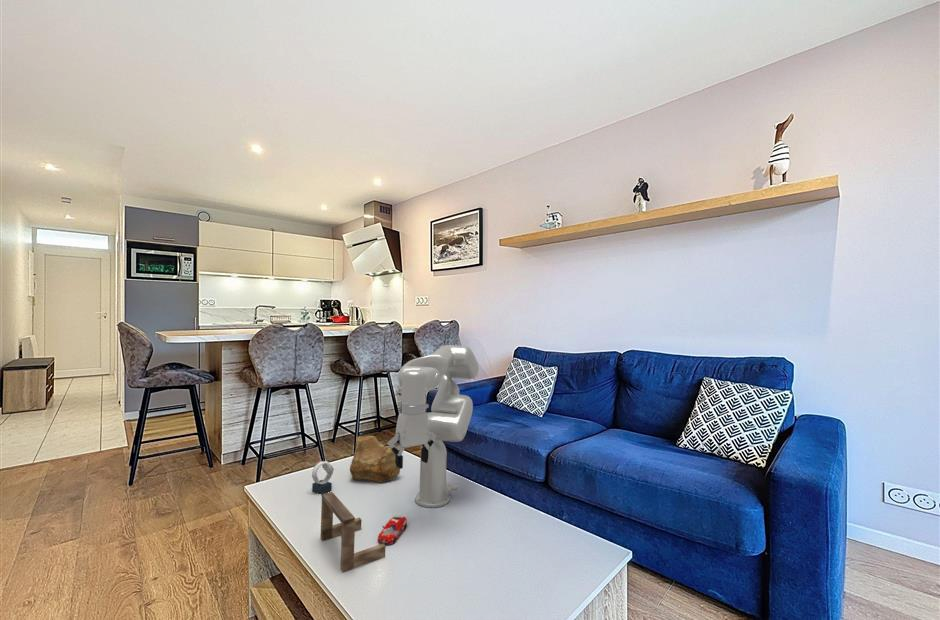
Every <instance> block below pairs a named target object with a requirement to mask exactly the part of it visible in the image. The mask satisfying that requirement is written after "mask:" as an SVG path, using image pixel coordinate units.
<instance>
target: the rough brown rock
mask: <svg viewBox="0 0 940 620" xmlns="http://www.w3.org/2000/svg"><path fill="white" fill-rule="evenodd" d="M355 441H356V442H355V451H354V454H353V458H352V460H351V463H350V465H349V472H350V474H351V478H352V479H353V480H357V481H358V480H359V481H360V480H370V481H374V482H376V483H386V481H391V480H393V479H395V478H396V477H397V476H399V474H400V472H401V469H400V468H398V467H397V466H396V464H395V457H396V454H395V453H394V452H393V451H392V450H391V449H390V447H389V446H388V445H386V446H385V445H384V444H382V443H381V442H380V441H379V440H378V439H377V437H376V436H375V435H366V436H364V435H359V436H356V440H355ZM394 446H395V448H396V447H397V444H394Z"/></svg>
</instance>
